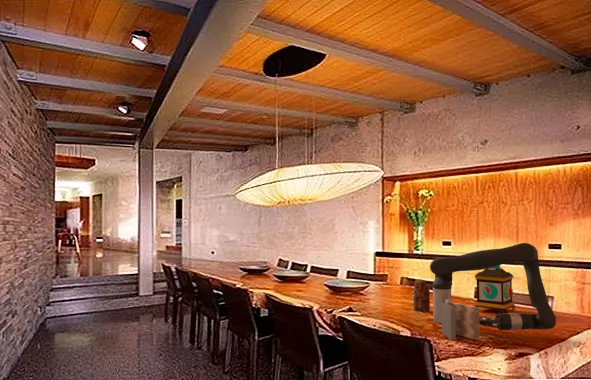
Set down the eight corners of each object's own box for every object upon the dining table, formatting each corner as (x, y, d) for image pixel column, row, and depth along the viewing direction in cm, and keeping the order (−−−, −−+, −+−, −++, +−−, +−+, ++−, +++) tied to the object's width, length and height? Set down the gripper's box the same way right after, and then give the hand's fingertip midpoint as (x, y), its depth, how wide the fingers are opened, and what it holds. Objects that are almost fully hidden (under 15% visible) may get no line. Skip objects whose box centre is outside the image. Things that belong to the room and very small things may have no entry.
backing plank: (440, 331, 226) (439, 299, 227) (450, 331, 226) (449, 299, 226) (451, 340, 209) (450, 305, 210) (462, 340, 209) (461, 305, 210)
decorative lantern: (518, 310, 277) (516, 259, 279) (507, 315, 263) (505, 261, 265) (483, 306, 291) (482, 257, 293) (471, 311, 276) (470, 259, 278)
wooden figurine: (409, 309, 281) (409, 278, 282) (417, 308, 284) (416, 278, 286) (425, 312, 271) (424, 281, 272) (432, 311, 275) (432, 280, 276)
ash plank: (448, 332, 222) (448, 302, 223) (452, 331, 223) (451, 301, 224) (476, 340, 208) (475, 307, 209) (479, 339, 209) (479, 307, 210)
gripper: (501, 310, 221) (465, 310, 221) (515, 316, 208) (476, 316, 208) (502, 326, 221) (465, 327, 220) (516, 333, 207) (477, 333, 207)
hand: (471, 322), depth 214 cm, fingers closed
